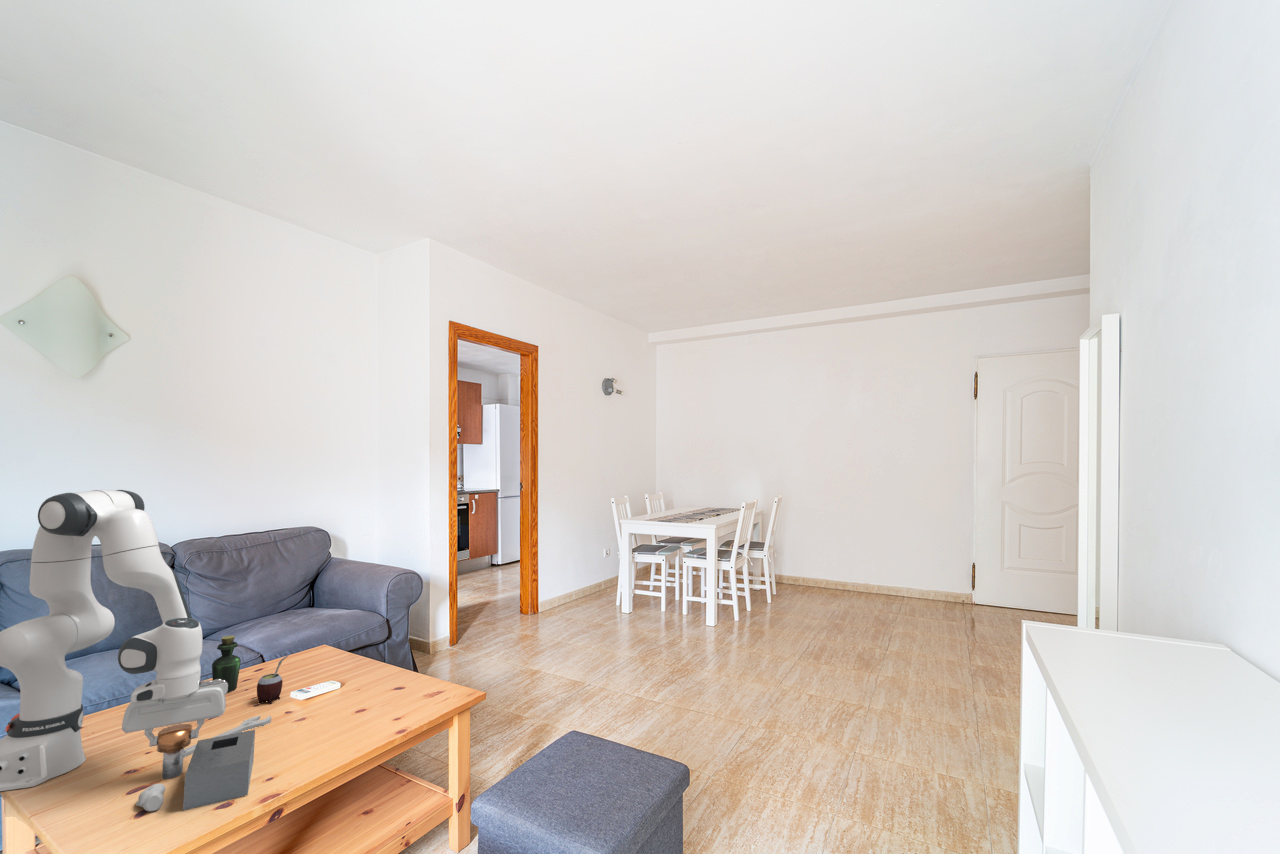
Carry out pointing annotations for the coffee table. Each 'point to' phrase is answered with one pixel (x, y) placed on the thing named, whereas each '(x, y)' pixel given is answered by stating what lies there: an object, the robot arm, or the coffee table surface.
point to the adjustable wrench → (236, 730)
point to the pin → (173, 748)
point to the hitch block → (219, 769)
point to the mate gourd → (270, 686)
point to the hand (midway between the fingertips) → (174, 741)
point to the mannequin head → (152, 797)
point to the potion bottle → (227, 663)
